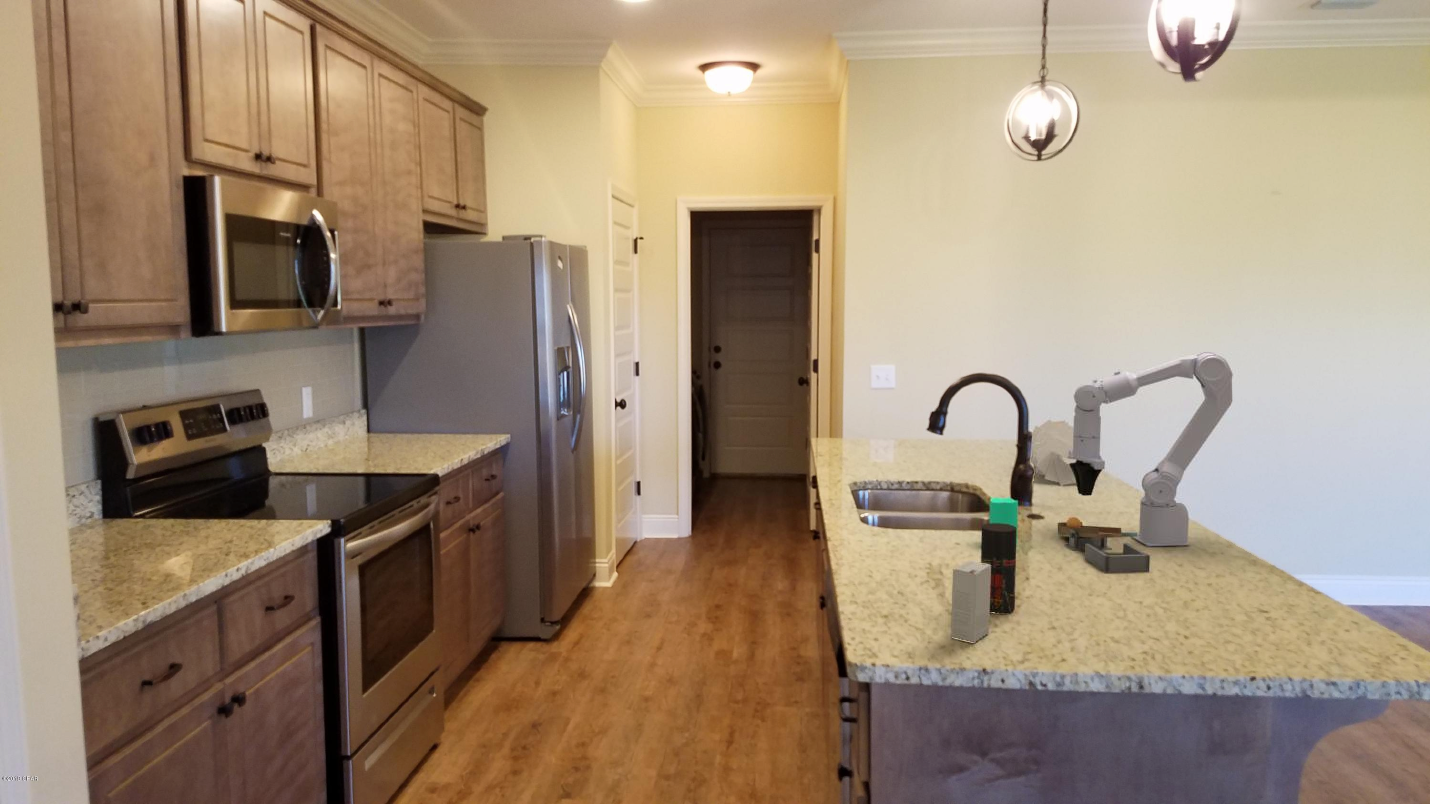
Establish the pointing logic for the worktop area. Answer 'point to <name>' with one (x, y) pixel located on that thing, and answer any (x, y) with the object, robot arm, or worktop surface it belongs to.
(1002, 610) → the deodorant
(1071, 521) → the ball
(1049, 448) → the spiral staircase
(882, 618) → the worktop surface
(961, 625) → the skincare box
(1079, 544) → the pivot bracket
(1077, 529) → the tilt board
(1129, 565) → the tray
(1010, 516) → the candle
